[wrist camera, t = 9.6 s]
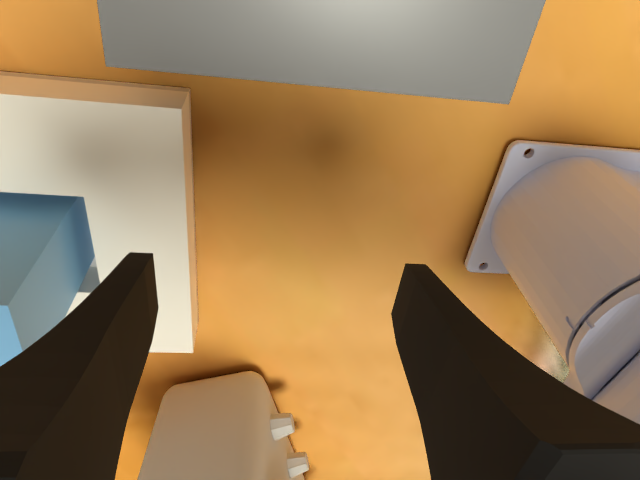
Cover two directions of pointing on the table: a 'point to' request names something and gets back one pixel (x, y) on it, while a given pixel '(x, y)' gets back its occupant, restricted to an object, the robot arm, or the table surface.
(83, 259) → the plug
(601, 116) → the table surface
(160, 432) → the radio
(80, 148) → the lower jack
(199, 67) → the grey square socket block
